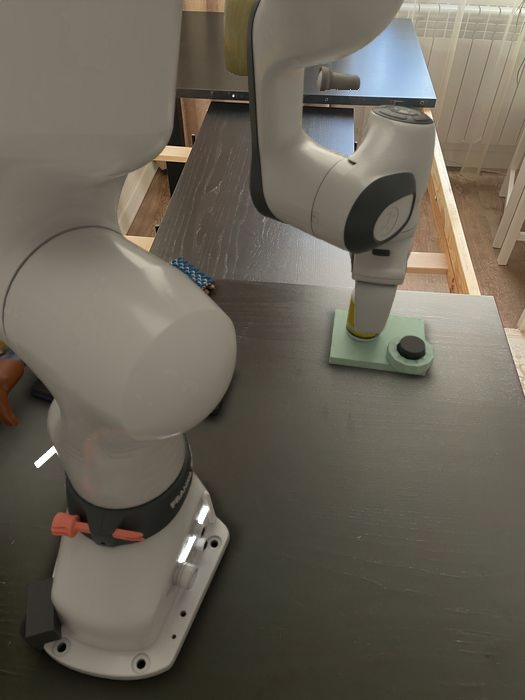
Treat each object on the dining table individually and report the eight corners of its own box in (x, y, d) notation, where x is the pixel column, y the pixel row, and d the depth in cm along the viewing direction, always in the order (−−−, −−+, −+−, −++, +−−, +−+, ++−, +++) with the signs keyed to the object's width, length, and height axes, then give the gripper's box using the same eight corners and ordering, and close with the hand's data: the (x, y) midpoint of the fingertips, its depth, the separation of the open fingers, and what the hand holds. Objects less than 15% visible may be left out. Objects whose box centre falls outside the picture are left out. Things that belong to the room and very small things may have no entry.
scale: (430, 382, 77) (435, 368, 75) (328, 369, 79) (330, 355, 77) (426, 326, 85) (431, 312, 83) (334, 315, 87) (336, 301, 85)
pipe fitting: (321, 68, 146) (316, 63, 154) (317, 100, 150) (312, 93, 159) (364, 72, 147) (356, 67, 155) (358, 104, 151) (351, 97, 160)
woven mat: (131, 289, 92) (129, 279, 90) (180, 263, 97) (178, 254, 96) (168, 317, 86) (167, 308, 85) (217, 289, 92) (217, 279, 90)
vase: (213, 78, 165) (207, -27, 146) (249, 64, 174) (248, -36, 155) (255, 92, 157) (255, -18, 138) (291, 76, 167) (295, -28, 147)
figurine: (62, 431, 65) (156, 284, 86) (6, 373, 59) (121, 232, 80) (-43, 442, 74) (65, 308, 95) (-100, 394, 68) (28, 262, 89)
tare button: (423, 361, 76) (426, 354, 75) (398, 358, 77) (400, 351, 76) (422, 344, 79) (425, 336, 78) (398, 341, 79) (400, 333, 78)
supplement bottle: (379, 345, 80) (391, 294, 73) (343, 340, 81) (351, 289, 74) (381, 321, 84) (392, 271, 77) (347, 317, 85) (355, 266, 78)
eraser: (94, 408, 71) (97, 416, 72) (109, 385, 74) (112, 393, 75) (23, 387, 74) (27, 395, 75) (40, 366, 76) (44, 374, 78)
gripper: (360, 193, 78) (349, 270, 88) (352, 277, 64) (339, 358, 73) (404, 197, 77) (387, 274, 87) (405, 283, 63) (386, 364, 73)
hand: (365, 313), depth 80 cm, fingers closed on supplement bottle, 5 cm apart
